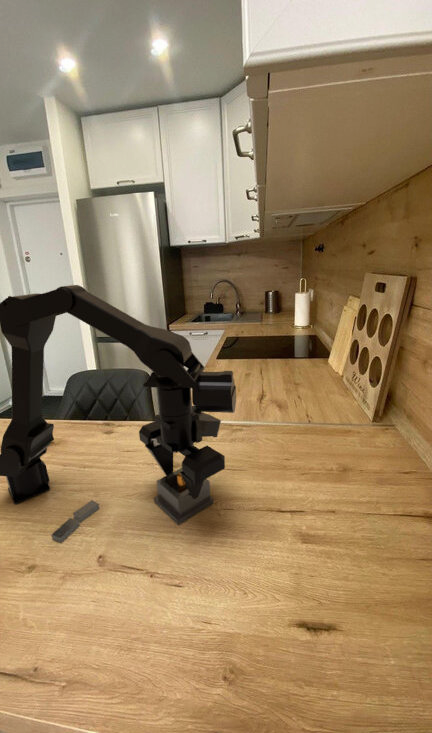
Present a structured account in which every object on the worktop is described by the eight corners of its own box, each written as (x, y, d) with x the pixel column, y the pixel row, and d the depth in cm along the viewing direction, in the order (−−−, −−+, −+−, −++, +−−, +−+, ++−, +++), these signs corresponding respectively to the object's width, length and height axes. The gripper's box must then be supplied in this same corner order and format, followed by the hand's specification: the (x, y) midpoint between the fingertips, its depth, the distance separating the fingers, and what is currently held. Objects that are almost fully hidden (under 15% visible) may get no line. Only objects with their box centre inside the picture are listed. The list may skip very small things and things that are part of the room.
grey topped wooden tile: (80, 523, 58) (79, 517, 58) (74, 519, 59) (72, 513, 59) (99, 510, 61) (98, 503, 61) (93, 506, 62) (92, 499, 62)
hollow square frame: (179, 516, 57) (177, 499, 56) (158, 496, 62) (156, 480, 61) (210, 497, 61) (209, 481, 60) (188, 480, 66) (186, 465, 65)
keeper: (178, 525, 56) (175, 496, 54) (154, 501, 62) (151, 474, 60) (213, 502, 61) (212, 475, 59) (188, 483, 67) (186, 457, 65)
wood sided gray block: (62, 544, 54) (60, 537, 53) (53, 541, 55) (51, 534, 54) (80, 527, 57) (78, 520, 57) (71, 524, 58) (70, 517, 58)
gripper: (247, 411, 54) (249, 491, 59) (182, 384, 68) (187, 450, 72) (193, 435, 47) (200, 523, 52) (133, 399, 61) (142, 471, 66)
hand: (182, 486), depth 61 cm, fingers open, 8 cm apart
